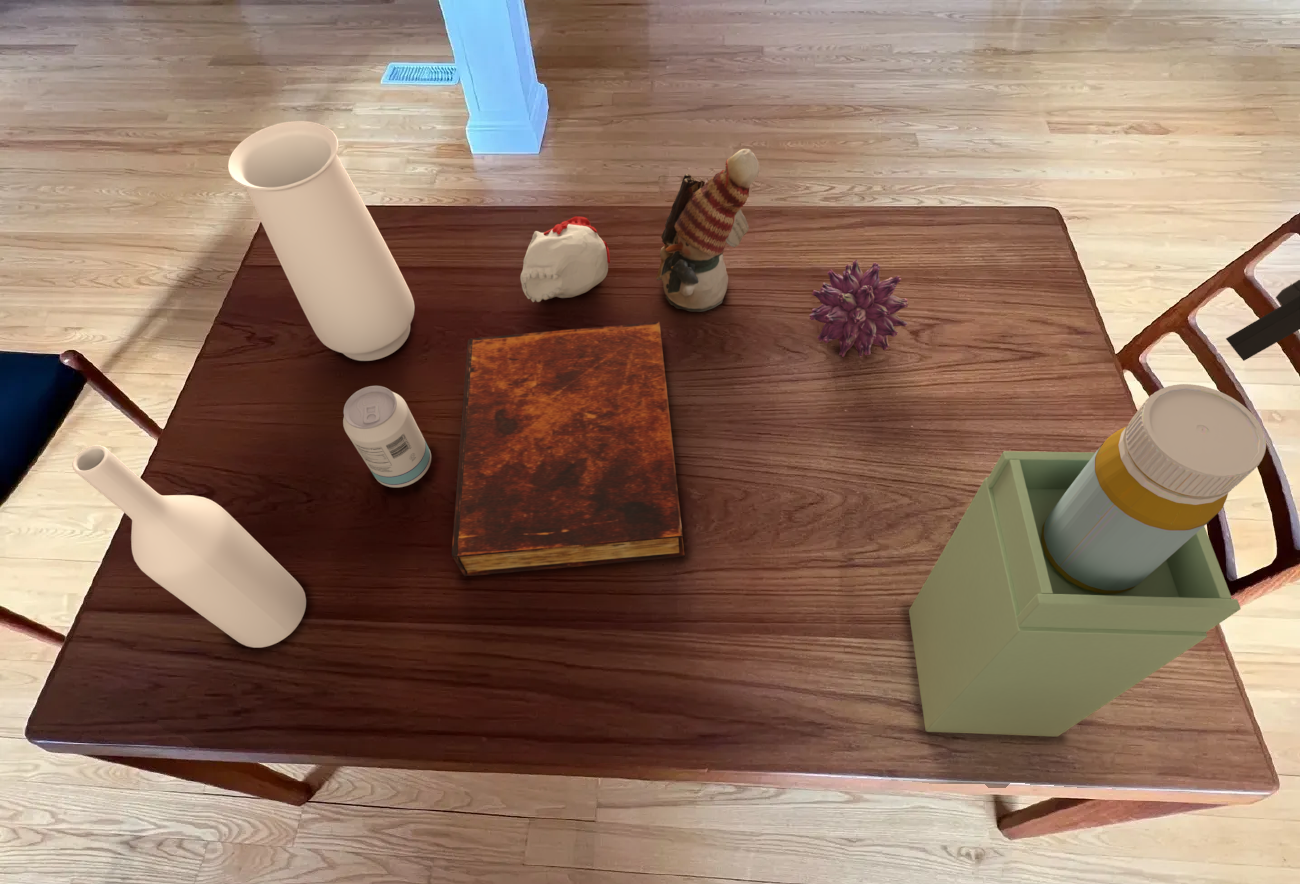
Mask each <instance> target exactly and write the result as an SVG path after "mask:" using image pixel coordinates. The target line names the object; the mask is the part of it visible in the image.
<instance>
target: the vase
mask: <svg viewBox="0 0 1300 884" xmlns="http://www.w3.org/2000/svg"><path fill="white" fill-rule="evenodd" d="M339 146H340V145H339V139H338V137H337V135H336V134H335V132H334V131H333V130H332V129H330V128H329V127H327V125H324V124H322V123H318V122H315V121H309V120H292V121H291V120H290V121H285V122H279V123H275V124H271V125H268V126H266V127H264V128H262V129H260V130H259V129H258V130H257V131H255V132H253V133H251V134H250V135H249V136H247V137H246V138H244V139H243V140H242V141H241V142H239V144H237V146H236V147H235V149H233V151H232V153H231V154H230V156H229V159H228V163H227V169H228V174H229V176H230V177H231V179H232V180H233V181H234V182H235V183H236V184H238V185H239V186H241V187H244V188H245V190H246V192H247V194H248V197H249V198H250V200H251V203H252V205H253V208H254V209H255V212H256V214H257V216H258V219H259V221H260V223H261V225H262V227H263V229H264V231H265V233H266V236H267V238H268V240H269V242H270V244H271V246H272V248H273V251H274V253H275V255H276V257H277V259H278V261H279V263H280V265H281V268H282V270H283V272H284V275H285V276H286V278H287V280H288V282H289V285H290V286H291V289H292V290H293V292H294V296H295V297H296V299H297V301H298V303H299V305H300V307H301V309H302V311H303V313H304V315H305V317H306V320H307V321H308V323H309V324H310V326H311V328H312V330H313V332H314V333H315V335H316V337H317V338H318V339H319V342H321V343H322V344H323V345H324V346H326V347H327V348H328V349H330V350H331V351H335V352H337V353H341V354H342V355H344V356H345V357H347V358H349V359H352V360H354V361H358V362H370V361H376V360H380V359H383V358H385V357H388V356H390V355H392V354H393V353H395V352H396V351H398V350H399V349H400V348H401V347H402V346H403V345H404V344H405V342H406V341H407V339H408V338H409V336H410V332H411V324H412V322H413V319H414V316H415V308H416V307H415V301H414V297H413V294H412V292H411V290H410V288H409V286H408V284H407V282H406V280H405V277H404V276H403V274H402V272H401V270H400V268H399V266H398V264H397V262H396V260H395V258H394V256H393V255H392V252H391V251H390V248H389V247H388V244H387V243H386V241H385V239H384V238H383V236H382V234H381V232H380V229H379V228H378V227H377V224H376V222H375V220H374V219H373V217H372V215H371V213H370V211H369V209H368V207H367V206H366V204H365V202H364V201H363V198H362V197H361V195H360V193H359V191H358V190H357V188H356V186H355V184H354V183H353V181H352V179H351V177H350V175H349V173H348V171H347V170H346V168H345V166H344V164H343V163H342V160H341V159H340V157H339V155H338V153H339V148H340V147H339Z"/></svg>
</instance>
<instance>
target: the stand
mask: <svg viewBox="0 0 1300 884" xmlns="http://www.w3.org/2000/svg"><path fill="white" fill-rule="evenodd" d="M1095 453H1096V452H1087V451H1086V452H1081V451H1079V452H1077V451H1021V450H1020V451H1015V450H1014V451H1013V450H1011V451H1010V450H1009V451H1008V450H1004V451H1003V452H1002V453H1001V454H1000V456H999V458H998V459H997V462H995V464H994V467H993V468H992V470H991V471H990V474H989V475H988V477H987V476H986V477H984V479H983V481H982V483H981V485H980V486H979V488H978V490H977V492H976V493H975V495H974V496H973V498H972V500H971V502H970V504H969V505H968V507H967V509H966V510H965V512H964V514H963V515H962V517H961V519H960V521H959V523H958V525H956V528H955V529H954V531H953V533H952V535H951V536H950V538H949V540H948V542H947V543H946V545H945V547H944V548H943V551H942V552H941V554H940V556H939V557H938V559H937V561H936V562H935V564H934V566H933V567H932V569H931V571H930V573H929V575H928V576H927V578H926V580H925V582H924V583H923V585H922V587H921V589H920V590H919V592H918V593H917V596H916V597H915V599H914V600H913V602H912V604H911V606H910V608H909V609H908V614H909V615H908V616H909V623H910V631H911V635H912V644H913V651H914V659H915V664H916V665H915V666H916V672H917V673H916V674H917V680H918V688H919V694H920V701H921V708H922V716H923V723H924V729H925V732H928V733H951V734H952V733H954V734H978V735H979V734H980V735H1003V736H1004V735H1007V736H1028V737H1029V736H1031V737H1032V736H1033V737H1055V738H1056V737H1057V738H1058V737H1059V736H1061V735H1062V734H1064V733H1066V732H1067V731H1069V730H1070V729H1071V728H1073V727H1074V726H1076V725H1077V724H1079V723H1080V722H1082V721H1083V720H1085V719H1087V718H1089V716H1091V715H1092V714H1094V713H1095V712H1097V711H1098V710H1100V709H1101V708H1103V707H1104V706H1106V705H1107V704H1109V703H1111V702H1112V701H1113V700H1115V699H1117V698H1118V697H1119V696H1121V695H1122V694H1124V693H1125V692H1127V691H1128V690H1130V689H1132V688H1133V687H1134V686H1136V685H1138V684H1139V683H1141V682H1142V681H1144V680H1145V679H1146V678H1148V677H1150V676H1151V675H1152V674H1154V673H1156V672H1157V671H1158V670H1160V669H1162V668H1163V667H1165V666H1166V665H1168V664H1169V663H1171V662H1172V661H1173V660H1176V659H1177V658H1178V657H1179V656H1181V655H1183V654H1184V653H1185V652H1187V651H1189V650H1190V649H1192V648H1193V647H1194V646H1196V645H1198V644H1199V643H1201V642H1202V641H1203V640H1205V639H1207V638H1208V634H1207V633H1208V632H1209V631H1210V630H1213V628H1215V627H1217V626H1218V625H1219V624H1221V623H1223V622H1224V621H1225V620H1227V619H1228V618H1230V617H1231V616H1233V615H1234V614H1236V613H1237V612H1239V611H1240V610H1241V608H1242V607H1241V605H1240V603H1239V600H1238V599H1237V598H1232V597H1233V596H1232V594H1231V592H1230V590H1229V587H1228V584H1227V581H1226V580H1225V577H1224V573H1223V572H1222V569H1221V566H1220V563H1219V560H1218V558H1217V555H1216V553H1215V550H1214V548H1213V545H1212V542H1211V540H1210V537H1209V535H1208V531H1207V529H1206V527H1205V526H1204V527H1203V528H1201V529H1200V530H1199V531H1198V532H1197V533H1196V534H1195V535H1194V536H1192V537H1191V538H1190V539H1189V540H1188V541H1187V542H1186V543H1185V544H1183V545H1182V546H1181V547H1180V548H1179V549H1178V550H1177V551H1176V552H1174V553H1173V554H1172V555H1171V556H1170V557H1169V558H1168V559H1167V560H1165V561H1164V562H1163V563H1162V564H1161V565H1160V566H1159V567H1158V568H1156V569H1155V570H1154V571H1153V572H1152V573H1151V574H1150V575H1149V576H1147V577H1146V578H1145V579H1144V580H1143V581H1142V582H1141V583H1139V584H1138V585H1136V586H1135V587H1134V588H1132V589H1130V590H1127V591H1124V592H1121V593H1117V594H1102V593H1097V592H1093V591H1089V590H1086V589H1083V588H1081V587H1079V586H1077V585H1075V584H1073V583H1072V582H1070V581H1068V580H1067V579H1065V578H1064V577H1063V576H1062V575H1061V574H1060V573H1059V572H1058V571H1057V570H1056V569H1055V568H1054V567H1053V566H1052V564H1051V563H1050V561H1049V560H1048V558H1047V557H1046V555H1045V553H1044V549H1043V546H1042V542H1041V533H1042V526H1043V524H1044V522H1045V520H1046V519H1047V517H1048V515H1049V514H1050V512H1051V511H1052V509H1053V508H1054V507H1055V505H1056V504H1057V503H1058V501H1059V500H1060V499H1061V498H1062V496H1063V495H1064V494H1065V492H1066V491H1067V490H1068V488H1069V487H1070V486H1071V484H1072V483H1073V482H1074V480H1075V479H1076V478H1077V476H1078V475H1079V474H1080V473H1081V471H1082V470H1083V469H1084V467H1085V466H1086V465H1087V463H1088V462H1089V461H1090V459H1091V458H1092V457H1093V455H1094V454H1095Z"/></svg>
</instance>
